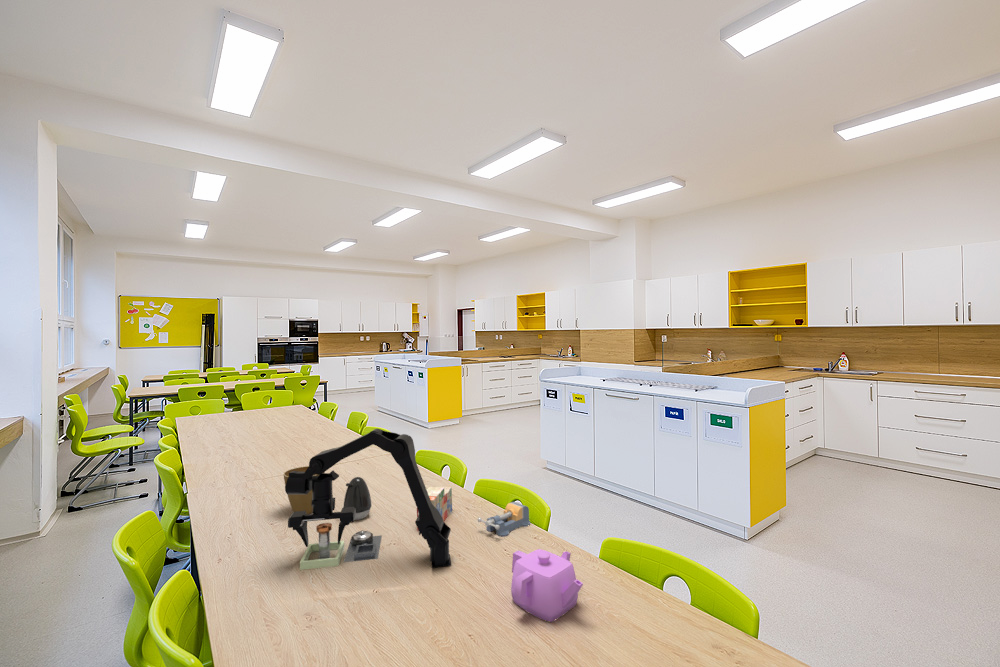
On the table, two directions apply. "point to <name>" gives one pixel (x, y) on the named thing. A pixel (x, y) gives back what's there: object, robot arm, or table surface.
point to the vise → (508, 519)
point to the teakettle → (544, 583)
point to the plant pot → (300, 495)
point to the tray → (321, 562)
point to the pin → (324, 540)
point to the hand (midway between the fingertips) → (323, 544)
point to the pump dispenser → (358, 497)
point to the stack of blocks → (440, 500)
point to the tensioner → (363, 547)
